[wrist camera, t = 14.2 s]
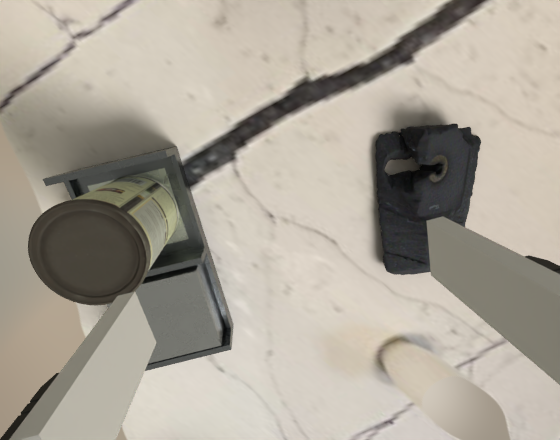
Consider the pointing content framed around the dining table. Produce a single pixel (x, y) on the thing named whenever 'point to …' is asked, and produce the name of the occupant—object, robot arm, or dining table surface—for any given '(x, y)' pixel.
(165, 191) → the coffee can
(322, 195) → the dining table surface
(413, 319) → the dining table surface
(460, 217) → the black pouch
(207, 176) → the dining table surface
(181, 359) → the rack
